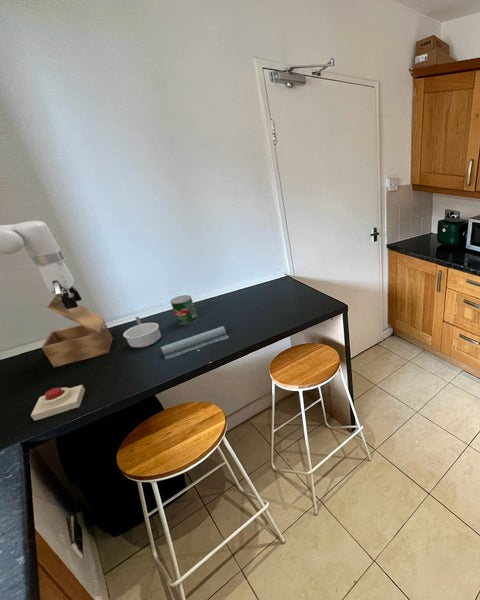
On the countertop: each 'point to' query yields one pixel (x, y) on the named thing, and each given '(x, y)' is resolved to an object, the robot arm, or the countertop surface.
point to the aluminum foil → (194, 342)
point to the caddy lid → (77, 314)
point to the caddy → (76, 344)
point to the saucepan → (142, 334)
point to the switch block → (58, 403)
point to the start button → (53, 393)
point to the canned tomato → (184, 309)
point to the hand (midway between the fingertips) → (74, 303)
